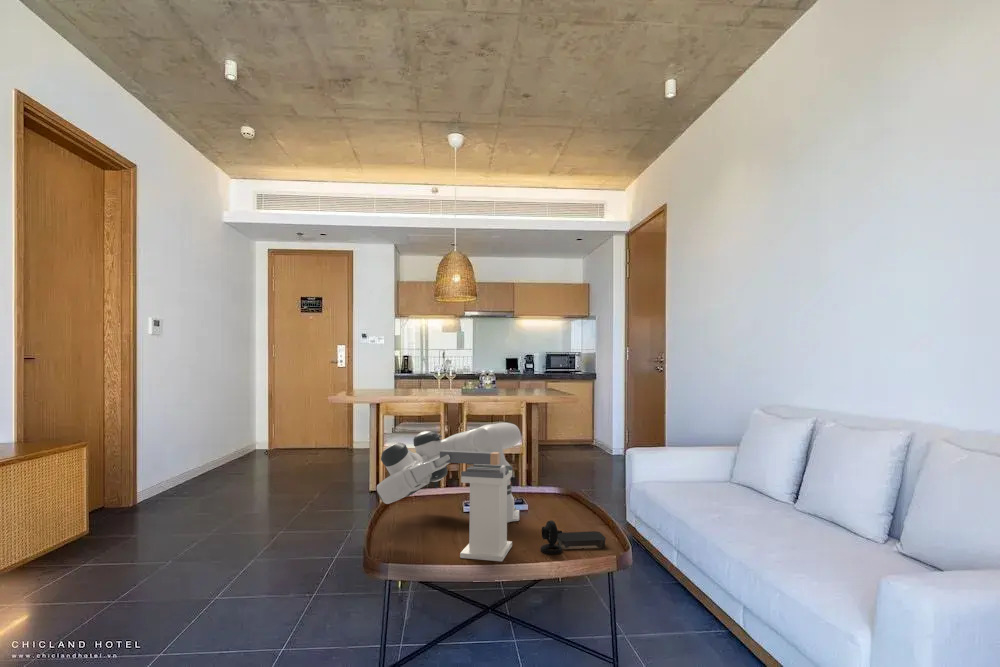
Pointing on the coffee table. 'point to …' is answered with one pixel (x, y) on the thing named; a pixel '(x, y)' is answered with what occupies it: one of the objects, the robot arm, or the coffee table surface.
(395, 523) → the coffee table surface
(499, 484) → the tester stand
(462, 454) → the long grey square bar
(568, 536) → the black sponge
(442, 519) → the coffee table surface
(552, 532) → the webcam
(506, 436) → the robot arm
